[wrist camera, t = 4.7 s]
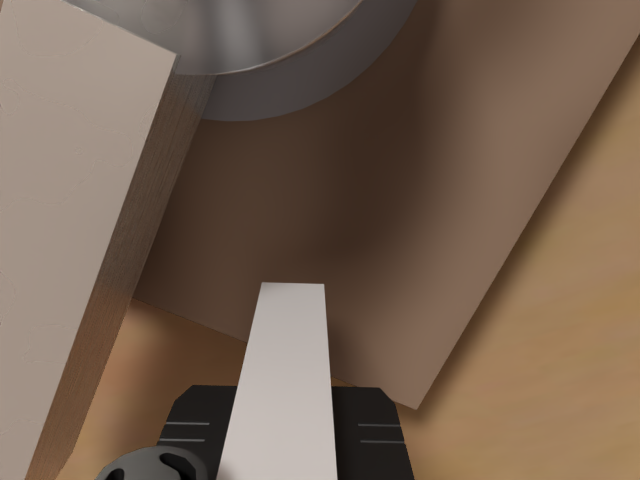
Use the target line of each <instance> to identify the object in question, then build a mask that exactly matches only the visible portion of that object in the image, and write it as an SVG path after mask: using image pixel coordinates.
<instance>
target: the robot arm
mask: <svg viewBox="0 0 640 480" xmlns="http://www.w3.org/2000/svg"><path fill="white" fill-rule="evenodd" d="M95 480H415V479H414V475H413V472H412V468H411V464H410V460H409V456H408V452H407V448H406V445H405V444H404V437H403V433H402V429H401V427H400V421H399V418H398V414H397V410H396V406H395V404H394V402H393V401H392V400H391V399H390V398H389V397H388V396H387V395H386V394H385V393H384V391H383V390H382V389H381V388H380V387H337V386H331V379H330V364H329V350H328V335H327V320H326V305H325V291H324V284H304V283H268V282H262V284H261V289H260V293H259V297H258V302H257V306H256V310H255V315H254V319H253V323H252V328H251V332H250V336H249V340H248V345H247V349H246V353H245V358H244V362H243V366H242V371H241V375H240V379H239V384H238V386H208V385H192V386H191V387H190V388H189V389H188V390H187V391H185V392H184V393H183V394H182V395H181V396H180V397H179V398H178V399H176V400H175V401H174V404H173V406H172V409H171V411H170V413H169V416H168V418H167V421H166V425H164V428H163V430H162V433H161V435H160V440H159V441H158V442H157V445H156V447H147V448H142V449H139V450H136V451H133V452H130V453H128V454H125V455H122V456H121V457H119V458H118V459H116V460H115V461H113V462H112V463H110V464H109V465H107V466H106V467H104V468H103V470H102V471H101V472H100V473H99V475H98V476H97V477H96V478H95Z"/></svg>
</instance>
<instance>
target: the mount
mask: <svg viewBox="0 0 640 480" xmlns="http://www.w3.org/2000/svg"><path fill="white" fill-rule="evenodd" d="M3 1H4V0H0V12H1V8H2V4H3ZM639 34H640V0H364V1H363V2H362V4H361V5H360V7H359V8H358V9H357V11H356V12H355V13H354V15H353V16H352V17H351V18H350V19H349V20H348V21H347V22H346V24H345V25H344V26H343V27H342V28H341V29H340V30H339V31H338V32H337V33H335V34H334V35H333V36H332V37H331V38H330V39H329V40H327V41H326V42H325V43H324V44H322V45H321V46H319V47H318V48H316V49H315V50H313V51H312V52H310V53H309V54H307V55H306V56H304V57H302V58H299V59H297V60H295V61H293V62H291V63H289V64H287V65H284V66H281V67H278V68H274V69H271V70H268V71H264V72H258V73H252V74H246V75H217V77H216V79H215V82H214V84H213V87H212V90H211V92H210V95H209V98H208V100H207V103H206V105H205V108H204V111H203V113H202V116H201V118H200V121H199V124H198V126H197V129H196V131H195V134H194V137H193V139H192V142H191V145H190V147H189V150H188V152H187V155H186V158H185V160H184V163H183V165H182V168H181V171H180V173H179V176H178V178H177V181H176V184H175V186H174V189H173V192H172V194H171V197H170V199H169V202H168V205H167V207H166V210H165V212H164V215H163V218H162V220H161V223H160V225H159V228H158V231H157V233H156V236H155V239H154V241H153V244H152V246H151V249H150V252H149V254H148V257H147V259H146V262H145V265H144V267H143V270H142V272H141V275H140V278H139V280H138V283H137V286H136V288H135V291H134V293H133V296H132V298H135V299H137V300H140V301H142V302H145V303H147V304H150V305H152V306H155V307H157V308H160V309H162V310H165V311H167V312H170V313H173V314H175V315H178V316H180V317H183V318H185V319H188V320H190V321H193V322H195V323H198V324H200V325H203V326H205V327H208V328H210V329H213V330H216V331H218V332H221V333H223V334H226V335H228V336H231V337H233V338H236V339H238V340H241V341H243V342H246V343H248V340H249V336H250V332H251V328H252V323H253V319H254V315H255V310H256V306H257V302H258V297H259V293H260V289H261V284H262V282H268V283H304V284H324V291H325V305H326V320H327V335H328V350H329V364H330V376H332V377H334V378H337V379H339V380H342V381H344V382H347V383H349V384H352V385H355V386H357V387H380V388H381V389H382V390H383V391H384V393H385V394H386V395H387V396H388V397H389V398H390V399H391V400H392V401H395V402H398V403H400V404H403V405H405V406H408V407H410V408H413V409H415V410H417V408H418V407H419V405H420V403H421V402H422V400H423V398H424V397H425V395H426V393H427V392H428V390H429V388H430V387H431V385H432V383H433V381H434V380H435V378H436V376H437V375H438V373H439V371H440V370H441V368H442V366H443V365H444V363H445V361H446V360H447V358H448V356H449V354H450V353H451V351H452V349H453V348H454V346H455V344H456V343H457V341H458V339H459V338H460V336H461V334H462V333H463V331H464V329H465V327H466V326H467V324H468V322H469V321H470V319H471V317H472V316H473V314H474V312H475V311H476V309H477V307H478V306H479V304H480V302H481V300H482V299H483V297H484V295H485V294H486V292H487V290H488V289H489V287H490V285H491V284H492V282H493V280H494V279H495V277H496V275H497V273H498V272H499V270H500V268H501V267H502V265H503V263H504V262H505V260H506V258H507V257H508V255H509V253H510V251H511V250H512V248H513V246H514V245H515V243H516V241H517V240H518V238H519V236H520V235H521V233H522V231H523V230H524V228H525V226H526V224H527V223H528V221H529V219H530V218H531V216H532V214H533V213H534V211H535V209H536V208H537V206H538V204H539V203H540V201H541V199H542V197H543V196H544V194H545V192H546V191H547V189H548V187H549V186H550V184H551V182H552V181H553V179H554V177H555V176H556V174H557V172H558V170H559V169H560V167H561V165H562V164H563V162H564V160H565V159H566V157H567V155H568V154H569V152H570V150H571V149H572V147H573V145H574V143H575V142H576V140H577V138H578V137H579V135H580V133H581V132H582V130H583V128H584V127H585V125H586V123H587V122H588V120H589V118H590V116H591V115H592V113H593V111H594V110H595V108H596V106H597V105H598V103H599V101H600V100H601V98H602V96H603V95H604V93H605V91H606V89H607V88H608V86H609V84H610V83H611V81H612V79H613V78H614V76H615V74H616V73H617V71H618V69H619V67H620V66H621V64H622V62H623V61H624V59H625V57H626V56H627V54H628V52H629V51H630V49H631V47H632V46H633V44H634V42H635V40H636V39H637V37H638V35H639Z"/></svg>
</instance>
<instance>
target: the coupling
mask: <svg viewBox="0 0 640 480" xmlns="http://www.w3.org/2000/svg"><path fill="white" fill-rule="evenodd" d="M363 1H364V0H4V1H3V4H2V8H1V12H0V480H55V479H56V478H57V476H58V475H59V473H60V471H61V470H62V468H63V467H64V465H65V464H66V462H67V460H68V459H69V457H70V456H71V454H72V453H73V450H74V447H75V445H76V442H77V440H78V437H79V434H80V432H81V429H82V427H83V424H84V421H85V419H86V416H87V413H88V411H89V408H90V406H91V403H92V400H93V398H94V395H95V393H96V390H97V387H98V385H99V382H100V380H101V377H102V374H103V372H104V369H105V366H106V364H107V361H108V359H109V356H110V353H111V351H112V348H113V346H114V343H115V340H116V338H117V335H118V333H119V330H120V327H121V325H122V322H123V319H124V317H125V314H126V312H127V309H128V306H129V304H130V301H131V299H132V296H133V293H134V291H135V288H136V286H137V283H138V280H139V278H140V275H141V272H142V270H143V267H144V265H145V262H146V259H147V257H148V254H149V252H150V249H151V246H152V244H153V241H154V239H155V236H156V233H157V231H158V228H159V225H160V223H161V220H162V218H163V215H164V212H165V210H166V207H167V205H168V202H169V199H170V197H171V194H172V192H173V189H174V186H175V184H176V181H177V178H178V176H179V173H180V171H181V168H182V165H183V163H184V160H185V158H186V155H187V152H188V150H189V147H190V145H191V142H192V139H193V137H194V134H195V131H196V129H197V126H198V124H199V121H200V118H201V116H202V113H203V111H204V108H205V105H206V103H207V100H208V98H209V95H210V92H211V90H212V87H213V84H214V82H215V79H216V77H217V75H246V74H252V73H258V72H264V71H268V70H271V69H274V68H278V67H281V66H284V65H287V64H289V63H291V62H293V61H295V60H297V59H299V58H302V57H304V56H306V55H307V54H309V53H310V52H312V51H313V50H315V49H316V48H318V47H319V46H321V45H322V44H324V43H325V42H326V41H327V40H329V39H330V38H331V37H332V36H333V35H334V34H335V33H337V32H338V31H339V30H340V29H341V28H342V27H343V26H344V25H345V24H346V22H347V21H348V20H349V19H350V18H351V17H352V16H353V15H354V13H355V12H356V11H357V9H358V8H359V7H360V5H361V4H362V2H363Z"/></svg>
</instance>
